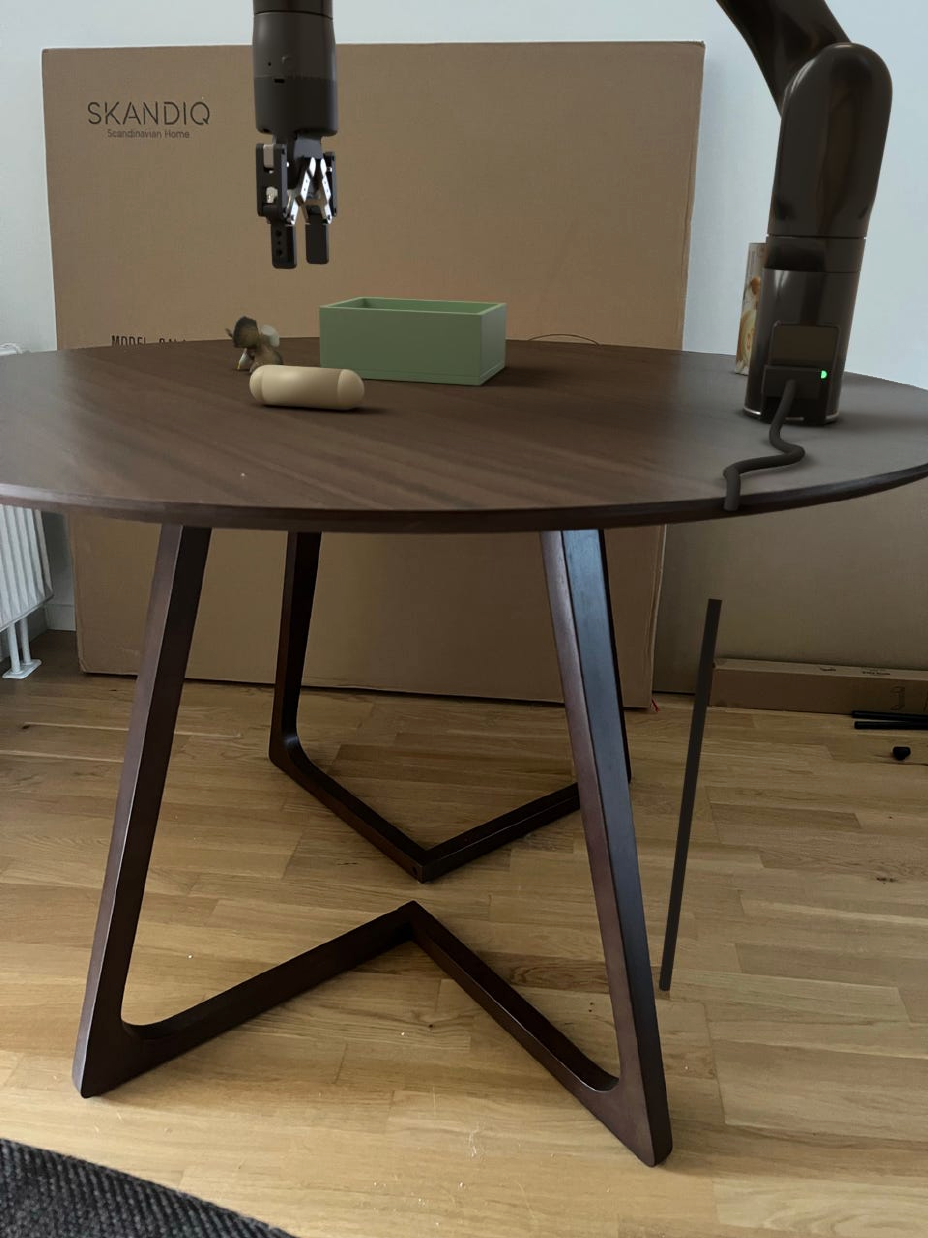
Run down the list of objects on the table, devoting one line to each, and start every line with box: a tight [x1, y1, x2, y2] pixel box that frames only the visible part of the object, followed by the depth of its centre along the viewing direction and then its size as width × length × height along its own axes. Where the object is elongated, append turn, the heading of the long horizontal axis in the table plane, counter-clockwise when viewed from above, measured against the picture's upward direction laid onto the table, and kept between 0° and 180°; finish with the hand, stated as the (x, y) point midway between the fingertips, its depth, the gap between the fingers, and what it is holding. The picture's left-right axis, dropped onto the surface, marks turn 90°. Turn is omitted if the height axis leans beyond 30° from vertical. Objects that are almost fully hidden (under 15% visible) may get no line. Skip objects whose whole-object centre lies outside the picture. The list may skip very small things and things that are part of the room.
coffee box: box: [733, 242, 765, 376], centre depth 124 cm, size 9×6×16 cm
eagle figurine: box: [224, 315, 285, 374], centre depth 122 cm, size 8×7×9 cm
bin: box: [318, 296, 508, 387], centre depth 123 cm, size 16×20×8 cm
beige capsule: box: [249, 364, 365, 411], centre depth 100 cm, size 4×12×4 cm, turn 77°
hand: (301, 266), depth 96 cm, fingers open, 8 cm apart
